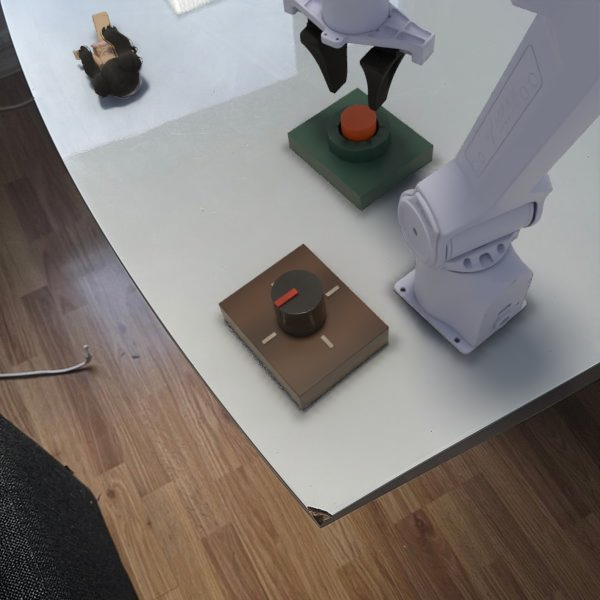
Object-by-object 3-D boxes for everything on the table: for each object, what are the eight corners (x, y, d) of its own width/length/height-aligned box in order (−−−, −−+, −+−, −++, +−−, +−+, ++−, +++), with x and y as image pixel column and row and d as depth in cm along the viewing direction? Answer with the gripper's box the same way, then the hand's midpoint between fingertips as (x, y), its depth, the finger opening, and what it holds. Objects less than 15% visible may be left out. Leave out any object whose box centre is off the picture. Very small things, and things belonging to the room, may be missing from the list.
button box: (432, 159, 70) (435, 132, 66) (360, 210, 67) (360, 185, 64) (358, 102, 75) (357, 74, 72) (289, 147, 73) (285, 120, 69)
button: (383, 129, 68) (383, 117, 66) (356, 147, 67) (356, 135, 66) (360, 111, 70) (360, 99, 68) (334, 129, 69) (333, 116, 67)
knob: (305, 284, 60) (301, 258, 56) (336, 316, 58) (333, 291, 54) (267, 312, 59) (259, 287, 55) (296, 346, 57) (291, 322, 53)
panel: (388, 342, 60) (389, 326, 57) (302, 410, 57) (299, 396, 54) (306, 260, 65) (303, 241, 62) (224, 319, 62) (217, 302, 60)
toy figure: (67, 48, 86) (102, 113, 78) (52, 2, 81) (88, 66, 73) (120, 33, 88) (159, 95, 80) (108, -13, 82) (149, 48, 75)
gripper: (253, -35, 54) (274, 93, 66) (405, 21, 49) (399, 150, 60) (303, -80, 56) (315, 51, 68) (454, -31, 51) (439, 102, 63)
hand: (357, 95), depth 64 cm, fingers open, 4 cm apart
